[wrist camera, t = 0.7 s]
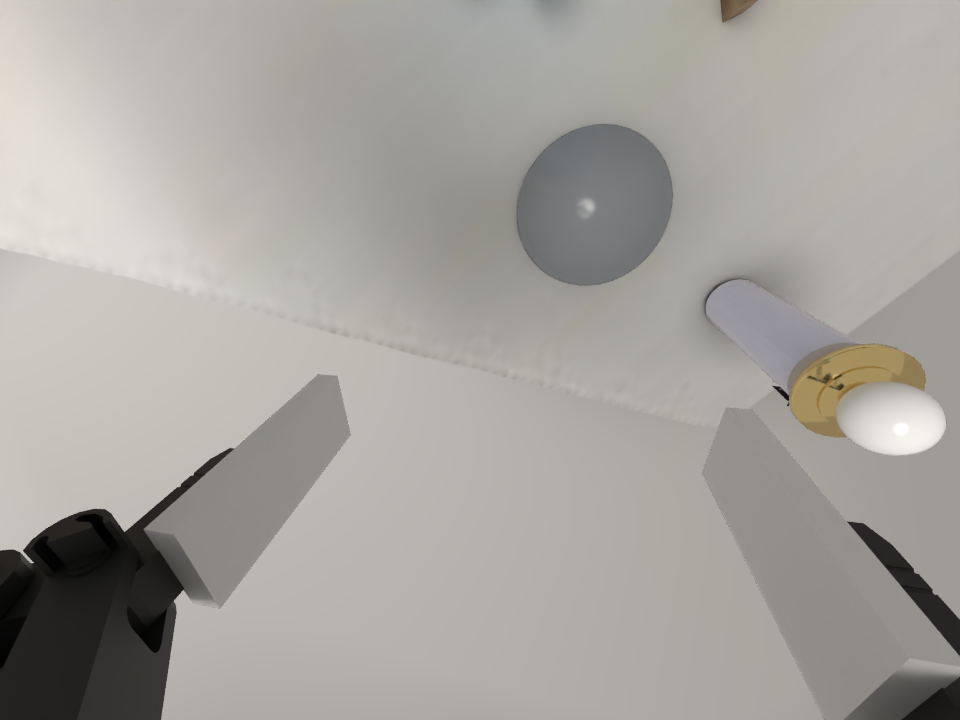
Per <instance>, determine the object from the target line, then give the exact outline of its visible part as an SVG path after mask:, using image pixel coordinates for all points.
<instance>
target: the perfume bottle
mask: <svg viewBox="0 0 960 720" xmlns="http://www.w3.org/2000/svg"><path fill="white" fill-rule="evenodd" d="M706 314H707V317H708V318H709V320H710V321H711V322H712V323H713V324H715V325H716V326H717V327H718V328H719V329H720V330H721V331H722V332H723V333H724V334H725V335H726V336H727V337H728V338H729V339H730V340H731V341H732V342H733V343H734V344H736V345H737V346H738V347H739V348H740V349H741V350H742V351H743V352H744V353H745V354H746V355H747V356H748V357H749V358H750V359H751V360H752V361H753V362H754V363H755V364H757V365H758V366H759V367H760V368H761V369H762V370H763V371H764V372H765V373H766V374H767V375H768V376H769V377H770V378H771V379H772V380H773V381H774V382H775V383H776V384H778V385H779V387H777V386H773V387H774V388H775V389H776V390H777V391H778V392H779V393H780V394H781V395H782V396H783V397H784V398H785V399H786V400H787V401H789V403H788V405H787V406H789V405H790V409H791V411H792V413H793V415H794V416H795V417H796V419H797V420H799V422H800V423H801V424H803V425H804V426H805V427H806V428H807V429H809V430H811V431H813V432H815V433H817V434H821V435H824V436H830V437H847V438H849V439H850V440H851V441H852V442H854V443H855V444H857V445H859V446H860V447H862V448H865V449H867V450H869V451H873V452H876V453H880V454H885V455H896V456H903V455H911V454H915V453H919V452H922V451H925V450H927V449H929V448H931V447H932V446H934V445H935V444H936V443H937V442H938V441H939V440H940V439H941V438H942V436H943V434H944V433H945V429H946V417H945V414H944V411H943V409H942V408H941V406H940V405H939V404H938V402H937V401H936V400H935V399H934V398H932V397H931V396H930V395H929V394H927V393H925V392H924V388H925V383H926V378H925V372H924V370H923V368H922V366H921V364H920V363H919V362H918V361H917V360H916V359H915V358H914V357H911V356H910V355H908V354H906V353H905V352H902V351H901V350H899V349H897V348H894V347H891V346H887V345H882V344H861V343H859V342H857V341H856V340H854V339H852V338H850V337H849V336H847V335H845V334H843V333H842V332H840V331H838V330H836V329H834V328H833V327H831V326H829V325H827V324H826V323H824V322H822V321H820V320H819V319H817V318H815V317H813V316H811V315H810V314H808V313H806V312H804V311H803V310H801V309H799V308H797V307H795V306H794V305H792V304H790V303H788V302H787V301H785V300H783V299H781V298H780V297H778V296H776V295H774V294H772V293H771V292H769V291H767V290H765V289H764V288H762V287H760V286H758V285H756V284H755V283H753V282H751V281H748V280H742V279H739V280H732V281H728V282H726V283H724V284H722V285H720V286H719V287H718V288H716V289H715V290H714V291H713V292H712V293H711V295H710V296H709V298H708V300H707V303H706ZM780 389H781V390H780ZM782 390H783V391H782Z"/></svg>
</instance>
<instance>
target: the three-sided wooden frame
mask: <svg viewBox="0 0 960 720" xmlns="http://www.w3.org/2000/svg"><path fill="white" fill-rule="evenodd" d="M756 1H757V0H721V9H722V20H723V22H724V21H726V20H728V19H730V18H733V17H735V16H737V15H739V14H741V13H743V12H744V11H745V10H746V9H748V8H749V7H750V6H751V5H753V4H754V3H755V2H756Z"/></svg>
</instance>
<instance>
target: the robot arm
mask: <svg viewBox="0 0 960 720" xmlns="http://www.w3.org/2000/svg"><path fill="white" fill-rule="evenodd" d="M349 436H350V430H349V425H348V421H347V416H346V412H345V408H344V404H343V399H342V395H341V390H340V386H339V382H338V378H337V376H331V375H317V376H316V377H315V378H314V379H313V380H311V381H310V382H309V383H308V384H307V385H306V386H305V387H304V388H302V389H301V390H300V391H299V392H298V393H297V394H296V395H294V396H293V397H292V398H291V399H290V400H289V401H288V402H287V403H286V404H284V405H283V406H282V407H281V408H280V409H279V410H278V411H276V412H275V413H274V414H273V415H272V416H271V417H270V418H269V419H267V420H266V421H265V422H264V423H263V424H262V425H261V426H259V427H258V428H257V429H256V430H255V431H254V432H253V433H252V434H251V435H249V436H248V437H247V438H246V439H245V440H244V441H243V442H241V443H240V444H239V445H238V446H237V447H236V448H235V449H232V448H229V449H228V450H226V451H224V452H222V453H220V454H219V455H217V456H215V457H213V458H211V459H210V460H209V461H208V462H206V463H205V464H204V465H203V466H202V467H201V468H199V469H198V470H197V471H196V472H195V473H194V475H193V476H190V477H189V478H188V479H187V480H185V481H184V482H183V483H182V484H181V487H177V488H176V489H175V490H174V491H173V492H171V493H170V494H169V495H168V496H167V497H165V498H164V499H163V500H162V501H161V502H160V503H158V504H157V505H156V506H155V507H154V508H152V509H151V510H150V511H149V512H148V513H147V514H146V515H144V516H143V517H142V518H141V519H140V520H139V521H137V522H136V523H135V524H134V525H133V526H131V527H130V528H129V529H128V530H127V531H125V532H124V531H123V530H122V528H121V527H120V525H119V524H118V523H117V521H116V520H115V518H114V517H113V516H112V514H111V513H109V512H108V511H107V510H105V509H92V510H87V511H83V512H79V513H77V514H74V515H71V516H69V517H67V518H64V519H62V520H60V521H58V522H57V523H55V524H53V525H52V526H50V527H48V528H46V529H45V530H44V531H43V532H41V533H40V534H39V535H38V536H36V537H35V538H34V539H32V540H31V542H30V543H29V544H28V545H27V546H26V548H25V549H24V550H23V551H24V552H25V553H26V555H27V556H28V557H29V558H30V559H31V560H32V561H33V562H34V563H29V561H28V560H27V559H26V558H25V557H24V556H23V555H22V554H21V553H20V552H18V551H16V550H2V551H0V720H161V715H162V708H163V701H164V695H165V688H166V681H167V674H168V667H169V660H170V653H171V646H172V639H173V632H174V626H175V619H176V605H175V603H174V600H175V599H176V597H177V596H178V595H179V594H180V593H181V591H183V590H184V591H185V592H186V594H187V595H188V597H189V598H190V600H191V601H192V603H193V604H198V605H203V606H208V607H213V608H218V609H220V608H221V607H222V606H223V604H224V603H225V602H226V600H227V599H228V598H229V596H230V595H231V594H232V592H233V591H234V590H235V588H236V587H237V586H238V584H239V583H240V582H241V580H242V579H243V578H244V576H245V575H246V574H247V572H248V571H249V570H250V568H251V567H252V566H253V564H254V563H255V562H256V560H257V559H258V558H259V556H260V555H261V554H262V552H263V551H264V550H265V548H266V547H267V546H268V544H269V543H270V542H271V540H272V539H273V538H274V536H275V535H276V534H277V532H278V531H279V530H280V528H281V527H282V526H283V524H284V523H285V522H286V520H287V519H288V518H289V516H290V515H291V514H292V512H293V511H294V510H295V508H296V507H297V506H298V504H299V503H300V502H301V500H302V499H303V498H304V496H305V495H306V494H307V492H308V491H309V490H310V488H311V487H312V486H313V484H314V483H315V482H316V480H317V479H318V478H319V476H320V475H321V474H322V472H323V471H324V470H325V468H326V467H327V466H328V464H329V463H330V462H331V460H332V459H333V458H334V456H335V455H336V454H337V452H338V451H339V450H340V448H341V447H342V446H343V444H344V443H345V442H346V440H347V439H348V437H349ZM702 474H703V476H704V478H705V480H706V482H707V484H708V486H709V488H710V490H711V492H712V494H713V496H714V498H715V500H716V502H717V504H718V506H719V509H720V510H721V512H722V515H723V517H724V519H725V520H726V523H727V525H728V527H729V529H730V531H731V532H732V535H733V537H734V539H735V541H736V543H737V545H738V547H739V549H740V551H741V553H742V555H743V557H744V559H745V561H746V563H747V565H748V567H749V569H750V571H751V573H752V575H753V577H754V579H755V581H756V583H757V585H758V587H759V589H760V591H761V593H762V595H763V597H764V599H765V601H766V603H767V605H768V607H769V609H770V611H771V613H772V615H773V617H774V619H775V621H776V623H777V625H778V627H779V629H780V631H781V633H782V635H783V637H784V639H785V641H786V643H787V646H788V647H789V650H790V651H791V654H792V656H793V658H794V659H795V662H796V664H797V666H798V668H799V670H800V672H801V674H802V676H803V678H804V680H805V682H806V684H807V686H808V688H809V690H810V692H811V694H812V696H813V698H814V700H815V702H816V704H817V706H818V708H819V710H820V712H821V714H822V716H823V718H824V720H960V619H958V617H957V616H956V615H955V614H954V613H953V612H952V611H951V609H950V608H949V607H948V606H947V605H946V604H945V603H944V602H943V601H942V600H941V598H940V597H939V596H938V595H934V594H933V592H932V589H931V588H930V586H929V585H928V584H927V583H926V582H925V581H924V580H923V579H922V578H921V577H920V575H919V574H915V573H914V569H913V568H912V566H911V565H910V564H909V563H908V562H907V561H906V560H905V559H904V558H903V557H902V556H901V554H900V553H899V552H898V551H897V550H896V549H895V548H894V547H893V545H891V544H890V543H889V542H887V541H886V540H885V539H883V538H882V537H881V536H879V535H878V534H877V533H875V532H874V531H873V530H871V529H870V528H869V527H867V526H866V525H865V524H863V523H855V522H847V521H846V520H845V519H844V518H843V516H842V515H841V514H840V513H839V512H838V510H837V509H836V508H835V507H834V506H833V505H832V503H831V502H830V501H829V500H828V499H827V498H826V496H825V495H824V494H823V493H822V492H821V490H820V489H819V488H818V487H817V485H816V484H815V483H814V482H813V481H812V479H811V478H810V477H809V476H808V475H807V473H805V471H804V470H803V469H802V468H801V466H800V465H799V464H798V463H797V462H796V460H795V459H794V458H793V457H792V456H791V455H790V453H789V452H788V451H787V450H786V448H785V447H784V446H783V445H782V444H781V442H780V441H779V440H778V439H777V438H776V437H775V435H774V434H773V433H772V432H771V431H770V429H769V428H768V427H767V426H766V425H765V423H764V422H763V421H762V420H761V419H760V418H759V416H758V415H757V414H756V413H755V411H754V410H751V409H739V408H727V407H726V408H725V411H724V414H723V417H722V419H721V422H720V425H719V428H718V430H717V433H716V436H715V438H714V441H713V444H712V446H711V449H710V452H709V455H708V457H707V460H706V463H705V465H704V468H703V471H702Z"/></svg>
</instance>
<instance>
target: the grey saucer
mask: <svg viewBox="0 0 960 720" xmlns="http://www.w3.org/2000/svg"><path fill="white" fill-rule="evenodd" d="M672 197H673V192H672V182H671V177H670V173H669V170H668V167H667V165H666V162H665V160H664V159H663V157H662V155H661V153H660V152H659V151H658V150H657V148H656V147H655V146H654V145H653V144H652V143H651V142H650V141H649V140H648V139H647V138H645V137H644V136H642V135H641V134H639V133H637V132H636V131H633V130H631V129H628V128H626V127H622V126H617V125H608V124H601V125H591V126H587V127H582V128H580V129H577V130H574V131H572V132H570V133H568V134H566V135H564V136H562V137H561V138H559V139H558V140H556V141H555V142H553V143H552V144H551V145H550V146H549V147H548V148H547V149H545V150H544V151H543V152H542V154H541V155H540V156H539V157H538V158H537V159H536V161H535V162H534V164H533V165H532V167H531V168H530V170H529V172H528V174H527V175H526V177H525V180H524V182H523V185H522V187H521V191H520V195H519V199H518V206H517V224H518V231H519V235H520V239H521V241H522V244H523V246H524V248H525V250H526V252H527V254H528V255H529V257H530V258H531V259H532V261H533V262H534V263H535V264H536V265H537V266H538V267H539V268H540V269H541V270H542V271H543V272H545V273H546V274H547V275H549V276H551V277H553V278H554V279H557V280H559V281H562V282H565V283H569V284H574V285H597V284H602V283H606V282H609V281H612V280H615V279H617V278H619V277H621V276H623V275H625V274H627V273H629V272H630V271H632V270H633V269H635V268H636V267H637V266H638V265H639V264H641V263H642V262H643V261H644V260H645V259H646V258H647V257H648V256H649V255H650V254H651V252H652V251H653V250H654V248H655V247H656V246H657V244H658V242H659V241H660V239H661V237H662V236H663V233H664V231H665V229H666V227H667V224H668V221H669V218H670V213H671V208H672Z"/></svg>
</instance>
